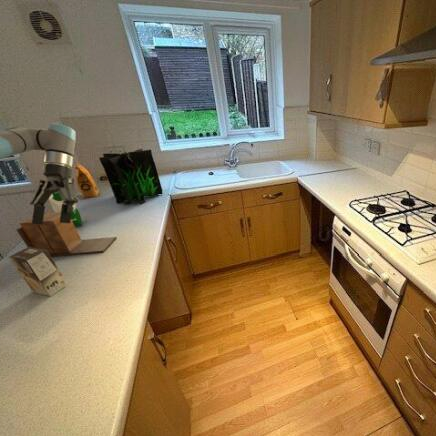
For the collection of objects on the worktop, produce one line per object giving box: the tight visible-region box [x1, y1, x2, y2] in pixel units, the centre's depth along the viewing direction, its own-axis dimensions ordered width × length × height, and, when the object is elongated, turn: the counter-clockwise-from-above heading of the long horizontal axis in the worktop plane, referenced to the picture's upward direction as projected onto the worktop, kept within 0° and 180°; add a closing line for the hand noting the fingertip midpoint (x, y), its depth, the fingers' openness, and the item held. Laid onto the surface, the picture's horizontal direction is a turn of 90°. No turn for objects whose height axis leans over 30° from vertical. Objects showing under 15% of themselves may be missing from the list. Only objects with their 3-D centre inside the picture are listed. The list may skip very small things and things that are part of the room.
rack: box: [16, 211, 117, 258], centre depth 108 cm, size 28×12×17 cm, turn 99°
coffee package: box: [74, 163, 100, 199], centre depth 167 cm, size 10×12×22 cm
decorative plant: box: [98, 148, 164, 206], centre depth 162 cm, size 29×30×30 cm
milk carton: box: [48, 191, 83, 228], centre depth 128 cm, size 9×9×20 cm
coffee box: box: [8, 247, 69, 297], centre depth 85 cm, size 9×6×16 cm
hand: (50, 223), depth 85 cm, fingers open, 13 cm apart
